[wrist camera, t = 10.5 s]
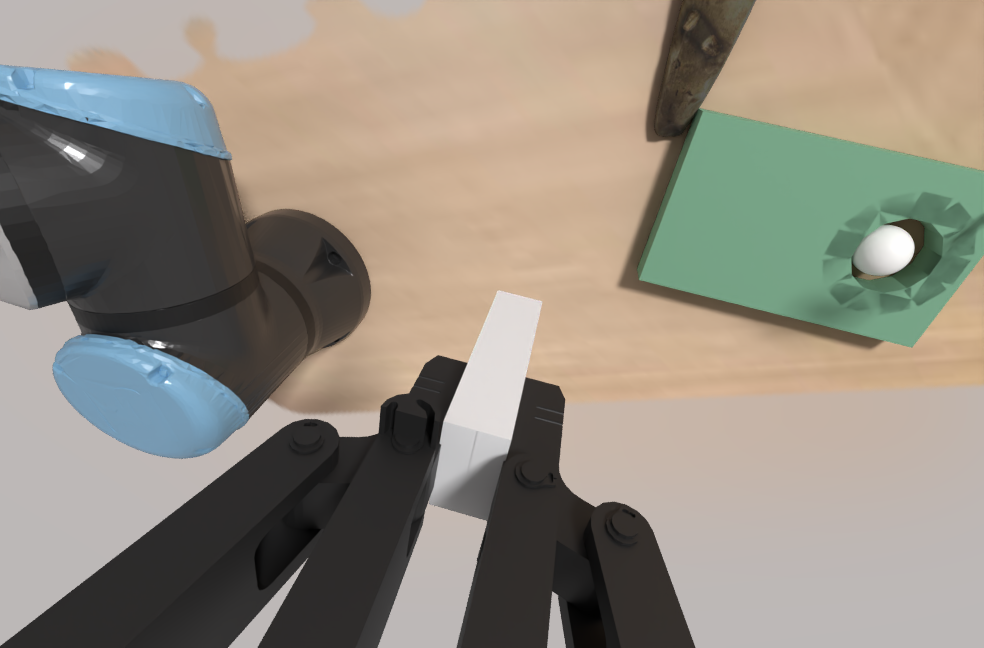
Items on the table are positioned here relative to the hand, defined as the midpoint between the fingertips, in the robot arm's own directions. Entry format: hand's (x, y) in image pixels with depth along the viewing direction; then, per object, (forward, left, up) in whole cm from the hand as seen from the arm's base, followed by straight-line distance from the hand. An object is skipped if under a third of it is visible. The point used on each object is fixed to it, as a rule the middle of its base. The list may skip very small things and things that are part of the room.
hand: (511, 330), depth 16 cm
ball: (+26, -1, -27) cm, 38 cm away
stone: (+7, +10, -30) cm, 32 cm away
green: (+21, -1, -29) cm, 36 cm away
